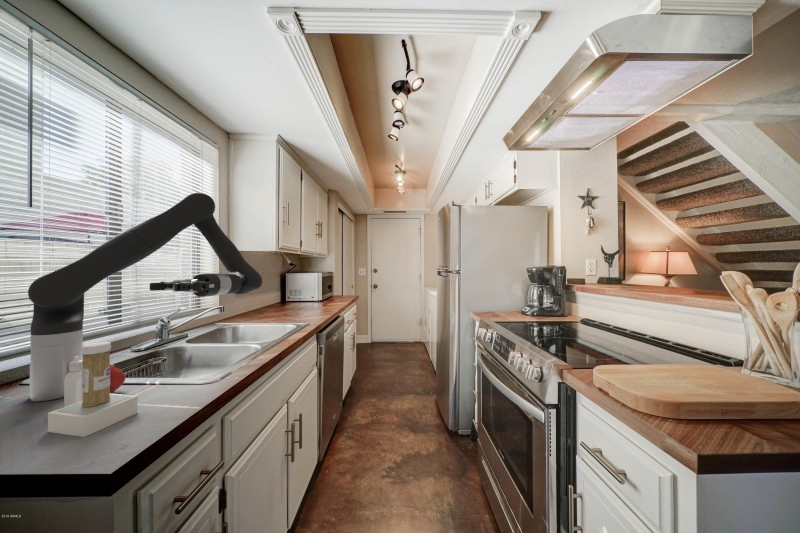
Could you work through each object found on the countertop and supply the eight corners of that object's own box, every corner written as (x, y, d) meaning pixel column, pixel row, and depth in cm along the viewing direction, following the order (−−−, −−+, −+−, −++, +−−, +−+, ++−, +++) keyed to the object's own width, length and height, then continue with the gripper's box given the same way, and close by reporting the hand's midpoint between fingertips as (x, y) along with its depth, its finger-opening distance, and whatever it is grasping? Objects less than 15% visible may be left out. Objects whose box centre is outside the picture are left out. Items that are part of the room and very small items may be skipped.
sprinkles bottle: (107, 404, 64) (108, 344, 64) (78, 410, 61) (78, 347, 61) (112, 396, 68) (112, 339, 68) (84, 401, 65) (85, 342, 65)
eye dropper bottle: (96, 398, 76) (96, 353, 76) (71, 408, 70) (71, 360, 70) (81, 398, 76) (81, 353, 76) (54, 408, 71) (54, 359, 71)
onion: (105, 399, 75) (105, 369, 75) (89, 397, 77) (89, 367, 77) (130, 390, 81) (130, 362, 81) (114, 388, 82) (114, 360, 82)
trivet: (47, 431, 60) (48, 412, 60) (105, 409, 70) (105, 392, 70) (84, 437, 58) (84, 416, 58) (137, 412, 68) (137, 395, 68)
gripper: (194, 273, 97) (142, 273, 81) (230, 273, 94) (184, 273, 78) (194, 295, 96) (142, 299, 81) (230, 296, 94) (183, 301, 78)
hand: (163, 287), depth 79 cm, fingers open, 8 cm apart
